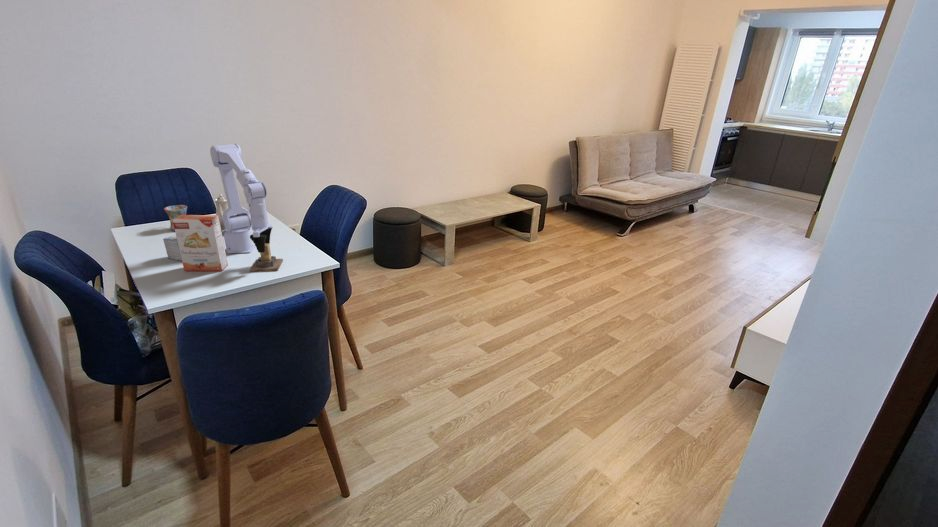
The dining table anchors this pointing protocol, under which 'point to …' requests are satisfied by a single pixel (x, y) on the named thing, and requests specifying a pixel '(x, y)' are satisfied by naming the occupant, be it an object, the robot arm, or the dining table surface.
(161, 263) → the dining table surface
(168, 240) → the medicine box
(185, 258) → the cracker box
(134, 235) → the dining table surface
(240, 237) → the robot arm
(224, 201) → the chinaware
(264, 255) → the wick block
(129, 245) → the dining table surface
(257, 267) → the clip stand
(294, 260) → the dining table surface
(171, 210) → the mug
